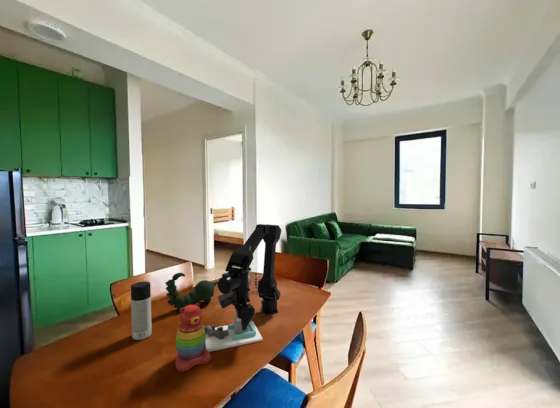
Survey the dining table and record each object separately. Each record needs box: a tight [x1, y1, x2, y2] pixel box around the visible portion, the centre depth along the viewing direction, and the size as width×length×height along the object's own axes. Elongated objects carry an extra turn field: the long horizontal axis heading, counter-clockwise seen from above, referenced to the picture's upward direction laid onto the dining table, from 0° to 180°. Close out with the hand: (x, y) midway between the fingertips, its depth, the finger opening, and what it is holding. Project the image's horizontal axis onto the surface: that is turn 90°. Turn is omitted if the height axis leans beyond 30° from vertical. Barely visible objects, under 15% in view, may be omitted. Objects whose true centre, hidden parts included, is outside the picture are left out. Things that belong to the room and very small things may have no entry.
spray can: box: [130, 281, 152, 341], centre depth 100 cm, size 7×7×20 cm
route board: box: [203, 320, 264, 353], centre depth 101 cm, size 20×14×3 cm
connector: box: [232, 317, 249, 335], centre depth 102 cm, size 5×4×5 cm
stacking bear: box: [175, 303, 212, 373], centre depth 87 cm, size 11×10×18 cm
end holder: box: [227, 322, 256, 340], centre depth 102 cm, size 9×9×2 cm
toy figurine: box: [165, 272, 219, 312], centre depth 126 cm, size 9×19×25 cm
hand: (241, 324), depth 102 cm, fingers open, 9 cm apart
